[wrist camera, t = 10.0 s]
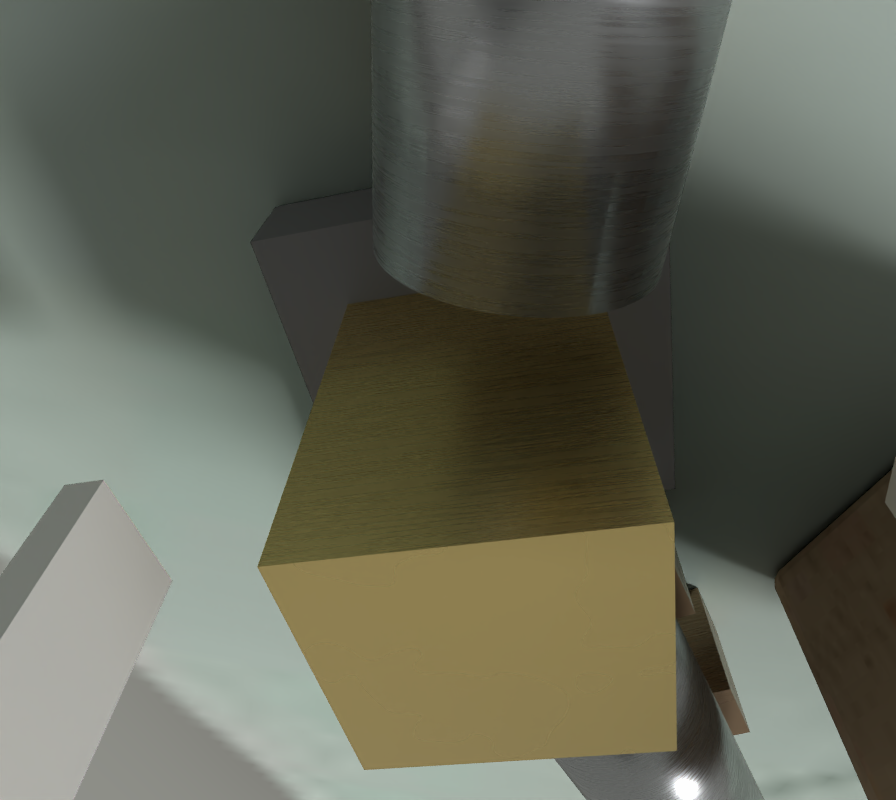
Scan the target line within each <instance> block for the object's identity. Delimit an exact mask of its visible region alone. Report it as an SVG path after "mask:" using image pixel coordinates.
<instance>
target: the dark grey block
mask: <svg viewBox="0 0 896 800" xmlns="http://www.w3.org/2000/svg"><path fill="white" fill-rule="evenodd" d="M251 245H252V248H253V250H254V253H255V255H256V258H257V260H258V263H259V265H260V268H261V271H262V273H263V276H264V278H265V281H266V283H267V286H268V288H269V291H270V294H271V296H272V299H273V301H274V304H275V306H276V309H277V312H278V314H279V317H280V319H281V322H282V324H283V327H284V329H285V332H286V335H287V337H288V340H289V342H290V345H291V347H292V350H293V352H294V355H295V358H296V360H297V363H298V365H299V368H300V370H301V373H302V375H303V378H304V381H305V383H306V386H307V388H308V391H309V393H310V396H311V398H312V401H313V404H314V401H315V398H316V395H317V392H318V389H319V387H320V384H321V381H322V378H323V375H324V372H325V369H326V366H327V363H328V360H329V357H330V355H331V352H332V349H333V346H334V343H335V340H336V337H337V334H338V331H339V328H340V325H341V323H342V320H343V317H344V314H345V311H346V308H347V305H348V304H352V303H358V302H364V301H370V300H376V299H383V298H389V297H395V296H401V295H407V294H413V293H419V292H417V291H415V290H413V289H411V288H409V287H407V286H405V285H404V284H402V283H400V282H399V281H397V280H396V279H394V278H393V277H392V276H391V275H390V274H388V273H387V272H386V271H385V270H384V269H383V268H382V266H381V265H380V264H379V263H378V261H377V259H376V257H375V255H374V251H373V206H372V188H369V189H364V190H359V191H354V192H349V193H344V194H338V195H333V196H328V197H323V198H318V199H313V200H308V201H303V202H298V203H293V204H288V205H283V206H278V207H275V208H274V210H273V211H272V212H271V214H270V215H269V217H268V218H267V219H266V221H265V222H264V224H263V225H262V226H261V228H260V229H259V231H258V232H257V234H256V235H255V236H254V238H253V239H252V241H251ZM607 313H608V316H609V320H610V323H611V326H612V329H613V332H614V335H615V338H616V341H617V345H618V348H619V351H620V354H621V357H622V360H623V363H624V366H625V370H626V373H627V376H628V379H629V382H630V385H631V388H632V391H633V394H634V398H635V401H636V404H637V407H638V410H639V413H640V416H641V419H642V423H643V426H644V429H645V432H646V435H647V438H648V441H649V444H650V448H651V451H652V454H653V457H654V460H655V463H656V466H657V469H658V473H659V476H660V479H661V482H662V485H663V488H664V490H670V489H675V466H674V421H673V375H672V330H671V285H670V242H669V246H668V249H667V253H666V257H665V261H664V265H663V269H662V273H661V276H660V279H659V282H658V284H657V285H656V287H655V288H654V289H653V290H652V291H651V292H650V293H649V294H648V295H647V296H645V297H643V298H642V299H640V300H638V301H637V302H635V303H632V304H630V305H627V306H625V307H622V308H619V309H615V310H612V311H608V312H607Z"/></svg>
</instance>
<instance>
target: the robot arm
mask: <svg viewBox="0 0 896 800" xmlns="http://www.w3.org/2000/svg"><path fill="white" fill-rule="evenodd" d="M885 503H886V505H887V506H888V508H889V509H890V511H891V512H892V514H893V515H894V517H895V518H896V457H895V461H894V465H893V469H892V474H891V478H890V482H889V486H888V491H887V495H886V499H885ZM171 583H172V579H171V578H170V576H169V575H168V573H167V572H166V570H165V569H164V568H163V566H162V565H161V563H160V562H159V560H158V559H157V557H156V556H155V554H154V553H153V551H152V550H151V548H150V547H149V546H148V544H147V543H146V541H145V540H144V538H143V537H142V535H141V534H140V532H139V531H138V529H137V528H136V526H135V525H134V524H133V522H132V521H131V519H130V518H129V516H128V515H127V513H126V512H125V510H124V509H123V507H122V506H121V504H120V503H119V501H118V500H117V499H116V497H115V496H114V494H113V493H112V491H111V490H110V488H109V487H108V485H107V484H106V482H105V481H104V480H98V481H91V482H84V483H76V484H69V485H64V487H63V488H62V489H61V491H60V492H59V494H58V495H57V496H56V498H55V499H54V501H53V502H52V504H51V505H50V506H49V508H48V509H47V511H46V512H45V513H44V515H43V516H42V518H41V519H40V520H39V522H38V523H37V525H36V526H35V528H34V529H33V530H32V532H31V533H30V535H29V536H28V537H27V539H26V540H25V542H24V543H23V544H22V546H21V547H20V549H19V550H18V552H17V553H16V554H15V556H14V557H13V559H12V560H11V561H10V563H9V564H8V566H7V567H6V568H5V570H4V571H3V573H2V574H1V576H0V800H74V798H75V795H76V793H77V791H78V789H79V787H80V784H81V782H82V780H83V778H84V775H85V773H86V771H87V769H88V766H89V764H90V762H91V760H92V758H93V756H94V753H95V751H96V749H97V747H98V744H99V742H100V740H101V738H102V735H103V733H104V731H105V729H106V727H107V725H108V722H109V720H110V718H111V716H112V713H113V711H114V709H115V707H116V705H117V702H118V700H119V698H120V696H121V693H122V691H123V689H124V687H125V684H126V682H127V680H128V678H129V676H130V674H131V671H132V669H133V667H134V665H135V662H136V660H137V658H138V656H139V654H140V651H141V649H142V647H143V645H144V643H145V640H146V638H147V636H148V634H149V631H150V629H151V627H152V625H153V623H154V620H155V618H156V616H157V614H158V612H159V609H160V607H161V605H162V603H163V600H164V598H165V596H166V594H167V592H168V589H169V587H170V585H171Z"/></svg>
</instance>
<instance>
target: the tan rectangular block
mask: <svg viewBox="0 0 896 800" xmlns="http://www.w3.org/2000/svg"><path fill="white" fill-rule="evenodd" d="M258 569H259V571H260V573H261V575H262V577H263V578H264V580H265V582H266V584H267V586H268V588H269V590H270V592H271V594H272V596H273V597H274V599H275V601H276V603H277V605H278V607H279V609H280V611H281V613H282V615H283V616H284V618H285V620H286V622H287V624H288V626H289V628H290V630H291V632H292V634H293V635H294V637H295V639H296V641H297V643H298V645H299V647H300V649H301V651H302V653H303V654H304V656H305V658H306V660H307V662H308V664H309V666H310V668H311V670H312V672H313V673H314V675H315V677H316V679H317V681H318V683H319V685H320V687H321V689H322V691H323V692H324V694H325V696H326V698H327V700H328V702H329V704H330V706H331V708H332V710H333V711H334V713H335V715H336V717H337V719H338V721H339V723H340V725H341V727H342V729H343V730H344V732H345V734H346V736H347V738H348V740H349V742H350V744H351V746H352V748H353V749H354V751H355V753H356V755H357V757H358V759H359V761H360V763H361V765H362V767H363V768H364V770H370V769H387V768H403V767H420V766H436V765H453V764H469V763H486V762H502V761H519V760H535V759H552V758H568V757H585V756H601V755H618V754H634V753H651V752H667V751H677V713H676V623H675V534H674V519H673V516H672V513H671V510H670V507H669V504H668V501H667V498H666V494H665V491H664V488H663V485H662V482H661V479H660V476H659V473H658V469H657V466H656V463H655V460H654V457H653V454H652V451H651V448H650V444H649V441H648V438H647V435H646V432H645V429H644V426H643V423H642V419H641V416H640V413H639V410H638V407H637V404H636V401H635V398H634V394H633V391H632V388H631V385H630V382H629V379H628V376H627V373H626V370H625V366H624V363H623V360H622V357H621V354H620V351H619V348H618V345H617V341H616V338H615V335H614V332H613V329H612V326H611V323H610V320H609V316H608V313H607V312H604V313H598V314H593V315H587V316H577V317H565V318H532V317H517V316H507V315H498V314H492V313H486V312H480V311H475V310H471V309H467V308H462V307H458V306H455V305H452V304H448V303H445V302H442V301H438V300H436V299H433V298H431V297H428V296H426V295H423V294H421V293H413V294H407V295H401V296H395V297H389V298H383V299H376V300H370V301H364V302H358V303H352V304H348V305H347V308H346V311H345V314H344V317H343V320H342V323H341V325H340V328H339V331H338V334H337V337H336V340H335V343H334V346H333V349H332V352H331V355H330V357H329V360H328V363H327V366H326V369H325V372H324V375H323V378H322V381H321V384H320V387H319V389H318V392H317V395H316V398H315V401H314V404H313V407H312V410H311V413H310V416H309V419H308V421H307V424H306V427H305V430H304V433H303V436H302V439H301V442H300V445H299V448H298V451H297V453H296V456H295V459H294V462H293V465H292V468H291V471H290V474H289V477H288V480H287V483H286V485H285V488H284V491H283V494H282V497H281V500H280V503H279V506H278V509H277V512H276V515H275V517H274V520H273V523H272V526H271V529H270V532H269V535H268V538H267V541H266V544H265V547H264V550H263V552H262V555H261V558H260V561H259V564H258Z"/></svg>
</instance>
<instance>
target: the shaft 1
mask: <svg viewBox="0 0 896 800" xmlns="http://www.w3.org/2000/svg"><path fill="white" fill-rule="evenodd" d="M731 3H732V0H371V59H372V206H373V251H374V255H375V257H376V259H377V261H378V263H379V264H380V265H381V266H382V268H383V269H384V270H385V271H386V272H387V273H388V274H390V275H391V276H392V277H393V278H394V279H396V280H397V281H399V282H400V283H402V284H404V285H405V286H407V287H409V288H411V289H413V290H415V291H417V292H419V293H421V294H423V295H426V296H428V297H431V298H433V299H436V300H438V301H442V302H445V303H448V304H452V305H455V306H458V307H462V308H467V309H471V310H475V311H480V312H486V313H492V314H498V315H507V316H517V317H532V318H565V317H577V316H587V315H593V314H598V313H604V312H608V311H612V310H615V309H619V308H622V307H625V306H627V305H630V304H632V303H635V302H637V301H638V300H640V299H642V298H643V297H645V296H647V295H648V294H649V293H650V292H651V291H652V290H653V289H654V288H655V287H656V285H657V284H658V282H659V279H660V276H661V273H662V269H663V265H664V261H665V257H666V253H667V249H668V246H669V242H670V238H671V234H672V230H673V226H674V222H675V219H676V215H677V211H678V207H679V203H680V199H681V195H682V192H683V188H684V184H685V180H686V176H687V172H688V168H689V165H690V161H691V157H692V153H693V149H694V145H695V142H696V138H697V134H698V130H699V126H700V122H701V118H702V115H703V111H704V107H705V103H706V99H707V95H708V91H709V88H710V84H711V80H712V76H713V72H714V68H715V64H716V61H717V57H718V53H719V49H720V45H721V41H722V37H723V34H724V30H725V26H726V22H727V18H728V14H729V10H730V7H731Z"/></svg>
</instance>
